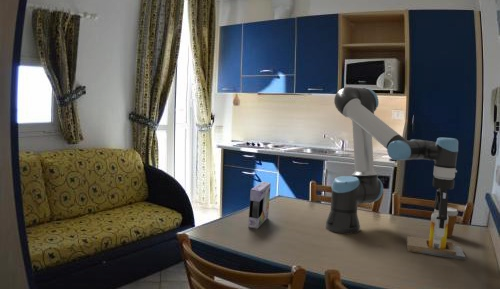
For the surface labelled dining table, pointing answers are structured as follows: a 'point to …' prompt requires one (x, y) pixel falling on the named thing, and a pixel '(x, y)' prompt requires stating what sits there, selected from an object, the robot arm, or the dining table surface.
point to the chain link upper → (421, 244)
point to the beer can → (433, 239)
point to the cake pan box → (259, 204)
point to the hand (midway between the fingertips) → (438, 230)
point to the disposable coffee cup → (451, 220)
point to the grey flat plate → (458, 254)
